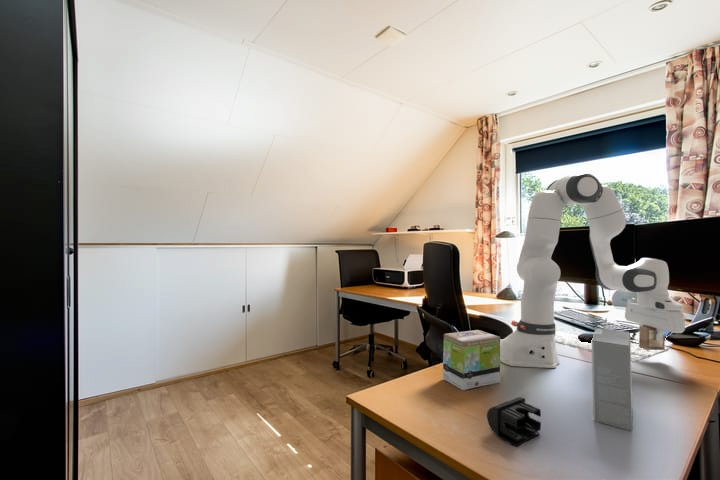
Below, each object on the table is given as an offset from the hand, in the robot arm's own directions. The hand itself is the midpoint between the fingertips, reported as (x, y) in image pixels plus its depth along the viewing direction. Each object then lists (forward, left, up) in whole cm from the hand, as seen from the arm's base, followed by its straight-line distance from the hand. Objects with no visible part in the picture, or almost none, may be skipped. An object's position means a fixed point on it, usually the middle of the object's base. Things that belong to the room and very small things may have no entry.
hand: (651, 338), depth 122 cm
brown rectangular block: (0, 0, -4) cm, 4 cm away
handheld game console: (+34, +31, -9) cm, 47 cm away
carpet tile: (-2, +24, -9) cm, 26 cm away
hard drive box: (-46, -35, -9) cm, 59 cm away
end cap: (-76, -42, -9) cm, 88 cm away
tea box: (-74, -13, -9) cm, 76 cm away
